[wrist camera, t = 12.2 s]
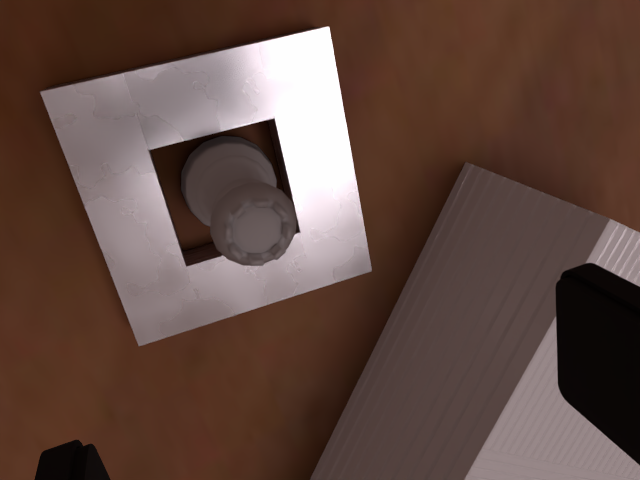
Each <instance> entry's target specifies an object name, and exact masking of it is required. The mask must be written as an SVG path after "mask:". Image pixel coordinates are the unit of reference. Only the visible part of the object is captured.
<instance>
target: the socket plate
mask: <svg viewBox="0 0 640 480" xmlns="http://www.w3.org/2000/svg"><path fill="white" fill-rule="evenodd" d="M40 93H41V96H42V98H43V101H44V103H45V106H46V109H47V111H48V114H49V116H50V119H51V121H52V124H53V127H54V129H55V132H56V134H57V137H58V139H59V142H60V145H61V147H62V150H63V152H64V155H65V157H66V160H67V163H68V165H69V168H70V170H71V173H72V176H73V178H74V181H75V183H76V186H77V188H78V191H79V194H80V196H81V199H82V201H83V204H84V206H85V209H86V212H87V214H88V217H89V219H90V222H91V224H92V227H93V230H94V232H95V235H96V237H97V240H98V242H99V245H100V248H101V250H102V253H103V255H104V258H105V260H106V263H107V266H108V268H109V271H110V273H111V276H112V278H113V281H114V284H115V286H116V289H117V291H118V294H119V296H120V299H121V302H122V304H123V307H124V309H125V312H126V314H127V317H128V320H129V322H130V325H131V327H132V330H133V332H134V335H135V338H136V340H137V343H138V345H139V346H141V345H144V344H147V343H151V342H154V341H157V340H160V339H163V338H166V337H169V336H172V335H175V334H178V333H182V332H185V331H188V330H191V329H194V328H197V327H200V326H203V325H206V324H209V323H213V322H216V321H219V320H222V319H225V318H228V317H231V316H234V315H237V314H240V313H244V312H247V311H250V310H253V309H256V308H259V307H262V306H265V305H268V304H271V303H274V302H278V301H281V300H284V299H287V298H290V297H293V296H296V295H299V294H302V293H305V292H309V291H312V290H315V289H318V288H321V287H324V286H327V285H330V284H333V283H336V282H340V281H343V280H346V279H349V278H352V277H355V276H358V275H361V274H364V273H367V272H371V271H372V268H371V262H370V257H369V251H368V245H367V240H366V234H365V228H364V223H363V217H362V211H361V206H360V200H359V194H358V188H357V183H356V177H355V171H354V166H353V160H352V154H351V149H350V143H349V137H348V132H347V126H346V120H345V114H344V109H343V103H342V97H341V92H340V86H339V80H338V75H337V69H336V63H335V58H334V52H333V46H332V40H331V35H330V29H329V27H314V28H310V29H305V30H301V31H296V32H292V33H288V34H283V35H279V36H274V37H270V38H265V39H261V40H256V41H252V42H247V43H243V44H238V45H234V46H230V47H225V48H221V49H216V50H212V51H207V52H203V53H198V54H194V55H189V56H185V57H181V58H176V59H172V60H167V61H163V62H158V63H154V64H149V65H145V66H140V67H136V68H131V69H127V70H123V71H118V72H114V73H109V74H105V75H100V76H96V77H91V78H87V79H82V80H78V81H74V82H69V83H65V84H60V85H56V86H51V87H47V88H46V89H44V90H42V91H41V92H40ZM265 120H268V125H269V129H270V133H271V138H272V142H273V146H274V151H275V155H276V159H277V163H278V168H279V172H280V176H281V181H282V185H283V189H284V194H285V195H286V196H287V197H288V198H289V199H290V200H291V201H292V203H293V206H294V210H295V213H296V216H297V223H296V233H295V235H294V237H293V240H292V241H291V243H290V245H289V247H288V248H287V249H286V253H285V254H284V255H282V256H281V257H280V258H279V259H278V260H277V261H276V259H275V260H272V261H270V262H267V263H264V266H250V265H245V266H243V265H241V264H238V263H235V262H233V261H230V260H228V259H227V258H226V257H225V256H224V255H223V254H222V253H221V252H219V251H218V250H217V249H216V246H215V244H214V243H211V244H207V245H204V246H201V247H197V248H194V249H190V250H187V251H184V252H183V250H182V247H181V243H180V240H179V237H178V234H177V231H176V228H175V225H174V222H173V219H172V216H171V213H170V209H169V206H168V203H167V200H166V197H165V194H164V191H163V188H162V185H161V182H160V179H159V176H158V172H157V169H156V166H155V163H154V160H153V157H152V154H151V151H150V150H151V149H155V148H159V147H163V146H167V145H171V144H175V143H178V142H182V141H186V140H190V139H194V138H198V137H202V136H206V135H210V134H214V133H218V132H222V131H226V130H230V129H233V128H237V127H241V126H245V125H249V124H253V123H257V122H261V121H265Z"/></svg>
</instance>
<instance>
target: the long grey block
mask: <svg viewBox="0 0 640 480" xmlns="http://www.w3.org/2000/svg"><path fill="white" fill-rule="evenodd" d="M586 263H594V264H596V265H598V266H600V267H602V268H604V269H606V270H608V271H610V272H612V273H614V274H616V275H618V276H620V277H622V278H624V279H626V280H628V281H630V282H632V283H633V284H635V285H637V286H639V287H640V233H639V232H637V231H635V230H633V229H631V228H628V227H626V226H624V225H622V224H620V223H618V222H616V221H614V220H612V219H609V218H607V217H604V216H602V215H599V214H597V213H593V212H591V211H589V210H586V209H584V208H581V207H579V206H576V205H574V204H571V203H569V202H566V201H564V200H560V199H558V198H556V197H554V196H551V195H548V194H545V193H543V192H541V191H538V190H536V189H533V188H530V187H528V186H526V185H523V184H521V183H518V182H516V181H513V180H510V179H508V178H505V177H503V176H500V175H498V174H495V173H493V172H490V171H488V170H485V169H483V168H480V167H478V166H475V165H472V164H470V163H467V162H465V164H464V166H463V168H462V170H461V172H460V174H459V176H458V178H457V180H456V183H455V185H454V187H453V189H452V191H451V193H450V195H449V197H448V199H447V201H446V203H445V205H444V207H443V209H442V211H441V213H440V215H439V217H438V219H437V221H436V223H435V225H434V227H433V229H432V231H431V233H430V236H429V238H428V240H427V242H426V244H425V246H424V248H423V250H422V252H421V254H420V256H419V258H418V260H417V262H416V264H415V266H414V268H413V270H412V272H411V274H410V276H409V278H408V280H407V282H406V284H405V286H404V289H403V291H402V293H401V295H400V297H399V299H398V301H397V303H396V305H395V307H394V309H393V311H392V313H391V315H390V317H389V319H388V321H387V323H386V325H385V327H384V329H383V331H382V333H381V335H380V337H379V339H378V342H377V344H376V346H375V348H374V350H373V352H372V354H371V356H370V358H369V360H368V362H367V364H366V366H365V368H364V370H363V372H362V374H361V376H360V378H359V380H358V382H357V384H356V386H355V388H354V390H353V392H352V395H351V397H350V399H349V401H348V403H347V405H346V407H345V409H344V411H343V413H342V415H341V417H340V419H339V421H338V423H337V425H336V427H335V429H334V431H333V433H332V435H331V437H330V439H329V441H328V443H327V445H326V448H325V450H324V452H323V454H322V456H321V458H320V460H319V462H318V464H317V466H316V468H315V470H314V472H313V474H312V476H311V478H310V480H640V465H639V464H637V463H636V462H635V461H634V460H633V459H632V458H631V457H629V456H628V455H627V454H626V453H625V452H624V451H623V450H621V449H620V448H619V447H618V446H617V445H616V444H615V443H613V442H612V441H611V440H610V439H609V438H608V437H607V436H605V435H604V434H603V433H602V432H601V431H600V430H599V429H597V428H596V427H595V426H594V425H593V424H592V423H590V422H589V421H588V420H587V419H586V418H585V417H584V416H582V415H581V414H580V413H579V412H578V411H577V410H576V409H574V408H573V407H572V406H571V405H570V404H569V403H568V402H567V401H566V400H565V399H564V398H563V396H562V395H561V393H560V390H559V387H558V371H557V332H556V292H555V287H556V283H557V281H559V280H560V276H561V274H562V273H563V272H564V271H565V270H568V269H571V268H574V267H577V266H580V265H583V264H586Z"/></svg>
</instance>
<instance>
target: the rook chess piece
mask: <svg viewBox="0 0 640 480" xmlns="http://www.w3.org/2000/svg"><path fill="white" fill-rule="evenodd" d="M276 183H277V179H276V176H275V173H274V170H273V167H272V164H271V162H270V161H269V158H268V157H267V156H266V155H265V154H264V153H263V152H262V150H261V149H260V148H259V147H258V146H257V145H256V144H254V143H252V142H249V141H247V140H245V139H243V138H241V137H231V136H220V137H217V138H214V139H211V140H209V141H206V142H203V143H202V144H201V145H200V146H199V147H198V148H197V149H195V150H194V151H193V152H192V153H191V154H190V155H189V157H188V159H187V161H186V163H185V165H184V168H183V170H182V172H181V191H182V194H183V196H184V199H185V201H186V204H187V206H188V208H189V209H190V211H191V212H192V213H193V214H194V215H195V216H196V217H197V218H198V219H199V220H200V221H201V222H202V223H203V224H205V225H207V226H210V234H211V236H212V239H213V241H214V244H215V246H216V249H217V250H218V251H219V252H221V253H222V254H223V255H224V256H225V257H226V258H227V259H228V260H230V261H233V262H235V263H238V264H241V265H243V266H245V265H250V266H264V263H267V262H270V261H272V260H275V259H276V261H277V260H278V259H279V258H280V257H281V256H282V255H284V254H285V253H286V249H287V248H288V247H289V245H290V243H291V241H292V240H293V237H294V235H295V233H296V223H297V216H296V213H295V210H294V206H293V203H292V201H291V200H290V199H289V198H288V197H287V196H286V195H285V194H284V193H283V191H282V190H280V189H278V188H276Z"/></svg>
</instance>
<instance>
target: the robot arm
mask: <svg viewBox="0 0 640 480" xmlns="http://www.w3.org/2000/svg"><path fill="white" fill-rule="evenodd" d="M555 292H556V332H557V371H558V387H559V390H560V393H561V395H562V396H563V398H564V399H565V400H566V401H567V402H568V403H569V404H570V405H571V406H572V407H573V408H574V409H576V410H577V411H578V412H579V413H580V414H581V415H582V416H584V417H585V418H586V419H587V420H588V421H589V422H590V423H592V424H593V425H594V426H595V427H596V428H597V429H599V430H600V431H601V432H602V433H603V434H604V435H605V436H607V437H608V438H609V439H610V440H611V441H612V442H613V443H615V444H616V445H617V446H618V447H619V448H620V449H621V450H623V451H624V452H625V453H626V454H627V455H628V456H629V457H631V458H632V459H633V460H634V461H635V462H636V463H637V464H639V465H640V287H639V286H637V285H635V284H633V283H632V282H630V281H628V280H626V279H624V278H622V277H620V276H618V275H616V274H614V273H612V272H610V271H608V270H606V269H604V268H602V267H600V266H598V265H596V264H594V263H586V264H583V265H580V266H577V267H574V268H571V269H568V270H565V271H564V272H563V273H562V274H561V276H560V280H559V281H557V283H556V287H555ZM35 480H110V478H109V476H108V473H107V471H106V469H105V467H104V465H103V463H102V461H101V458H100V456H99V454H98V452H97V450H96V448H95V446H94V445H93V444H88V445H85V446H83V445H82V443H81V442H80V441H79V440H74V441H71V442H68V443H65V444H62V445H59V446H57V447H54V448H51V449H48V450H45V451H43V452H42V454H41V456H40V459H39V464H38V468H37V472H36V476H35Z"/></svg>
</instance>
